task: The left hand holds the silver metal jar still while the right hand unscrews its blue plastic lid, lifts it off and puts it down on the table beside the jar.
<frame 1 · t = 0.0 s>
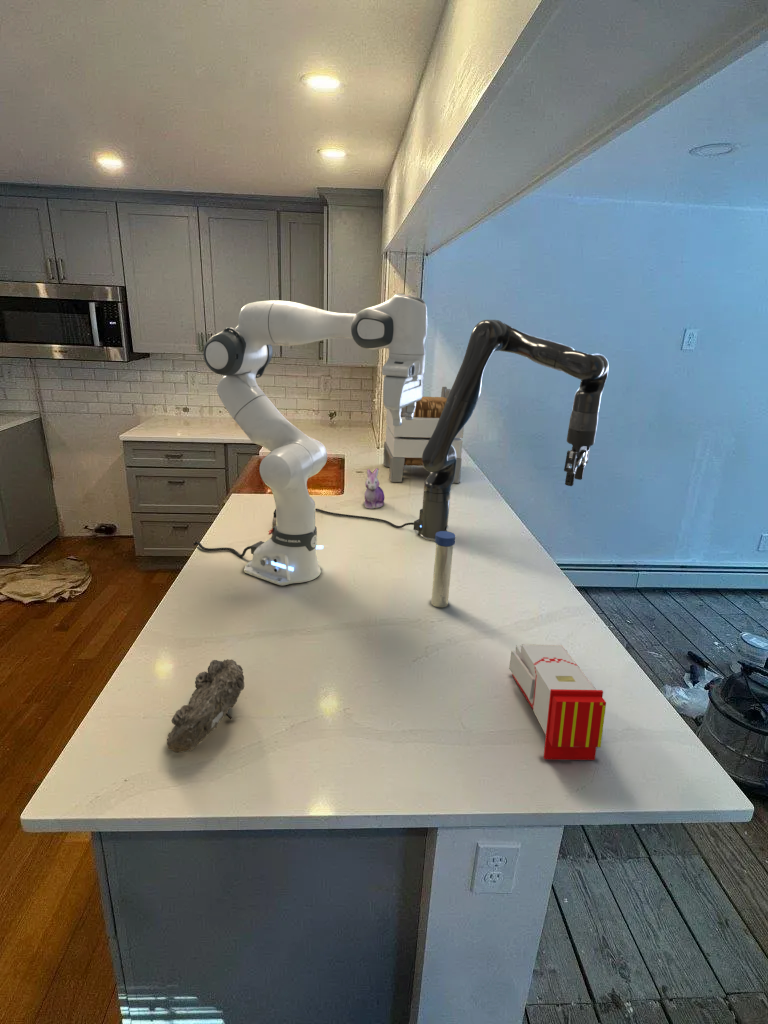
left hand: (403, 422, 142), 48 cm above the counter, tool pointing down, fingers open, 8 cm apart
right hand: (573, 482, 165), 29 cm above the counter, tool pointing down, fingers open, 8 cm apart
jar: (439, 603, 154), on the counter
figurine character: (284, 526, 202), on the counter
figurine: (373, 505, 227), on the counter
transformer: (419, 473, 275), on the counter
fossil: (212, 717, 108), on the counter
lid: (445, 535, 147), point 20 cm above the counter, screwed on, not yet turned
toy: (546, 710, 114), on the counter
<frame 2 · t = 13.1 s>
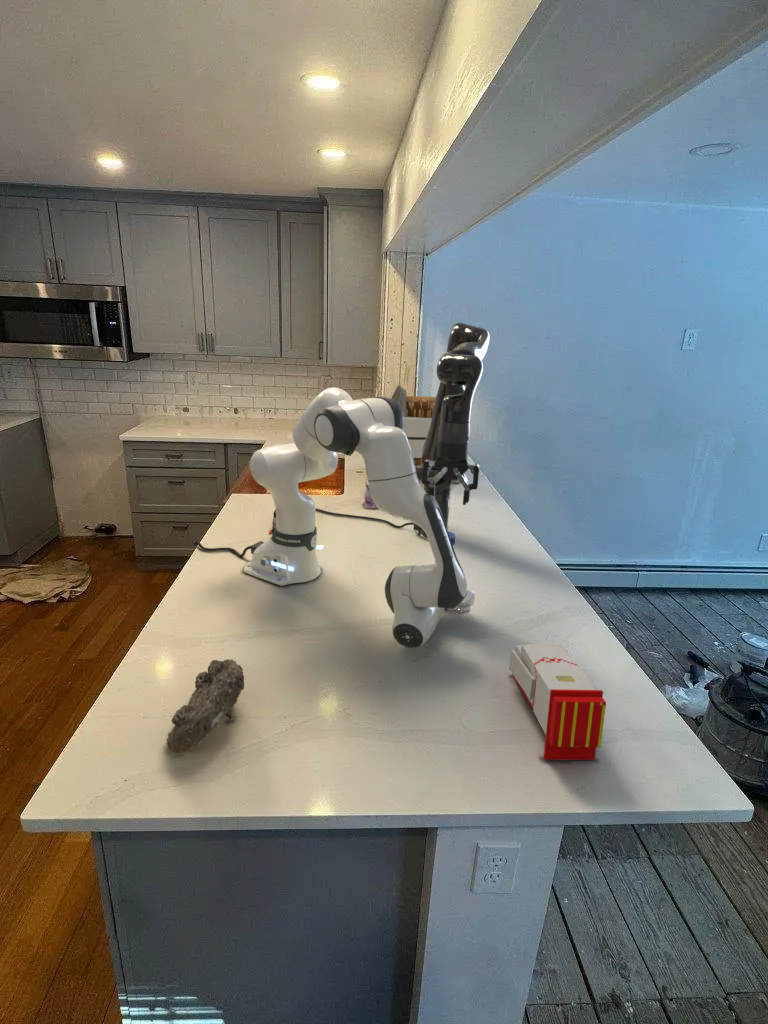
left hand: (442, 581, 152), 6 cm above the counter, tool horizontal, fingers closed on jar, 4 cm apart
right hand: (448, 502, 144), 29 cm above the counter, tool pointing down, fingers open, 7 cm apart
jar: (439, 603, 154), on the counter, touching left hand
everything else where it was.
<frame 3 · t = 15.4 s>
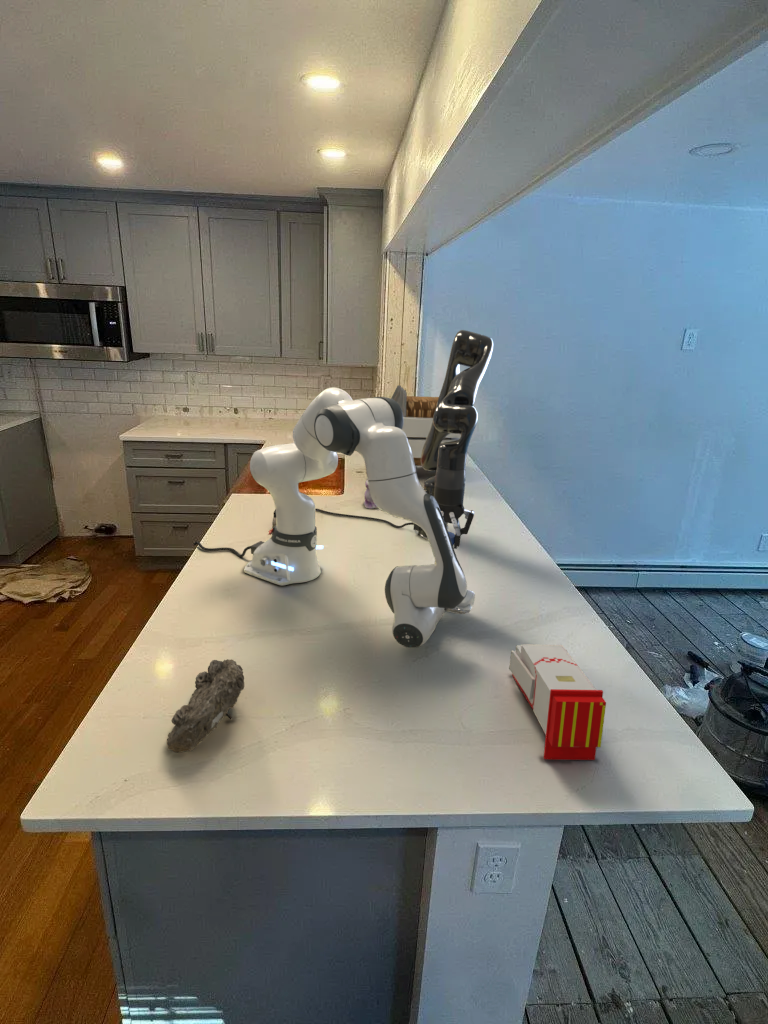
left hand: (442, 581, 152), 6 cm above the counter, tool horizontal, fingers closed on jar, 4 cm apart
right hand: (444, 545, 148), 17 cm above the counter, tool pointing down, fingers closed on lid, 5 cm apart
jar: (439, 603, 154), on the counter, touching left hand
lid: (445, 535, 147), point 20 cm above the counter, screwed on, not yet turned, touching right hand
everything else where it was.
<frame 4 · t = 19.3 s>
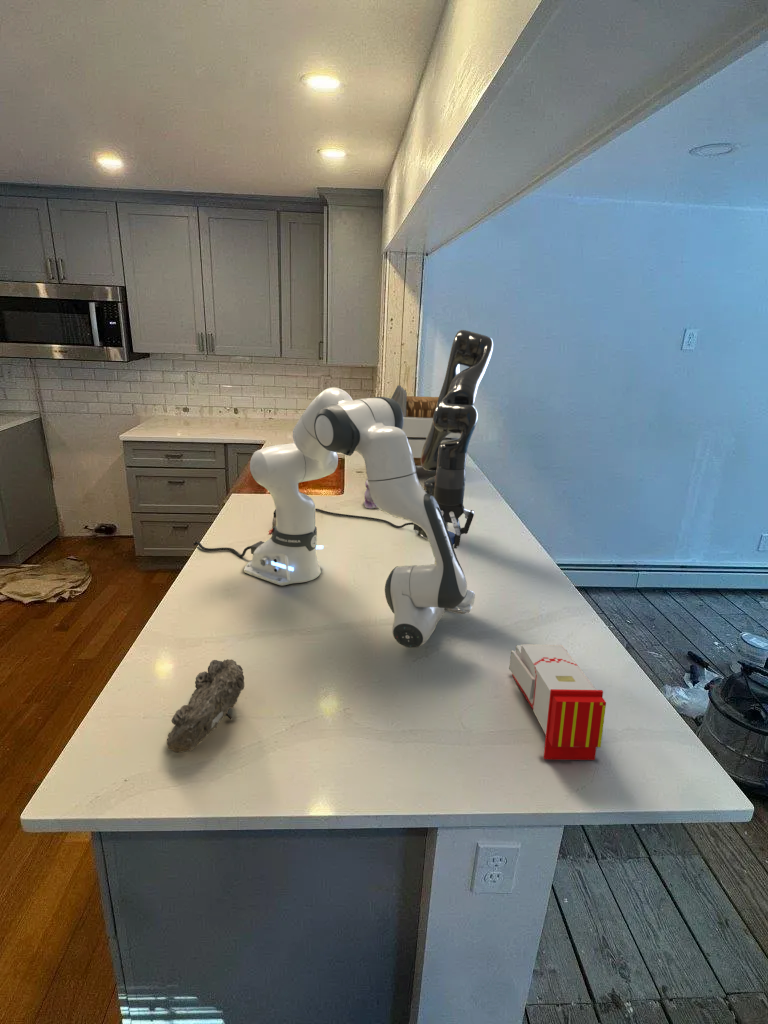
left hand: (442, 581, 153), 6 cm above the counter, tool horizontal, fingers closed on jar, 4 cm apart
right hand: (444, 545, 148), 17 cm above the counter, tool pointing down, fingers closed on lid, 5 cm apart
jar: (439, 603, 154), on the counter, touching left hand
lid: (445, 535, 147), point 20 cm above the counter, turned 101° so far, risen 0.1 cm, still on its thread, touching right hand
everything else where it was.
when the right hand's fingers open (1 cm above the counter, at t = 38.7 s): lid drops 2 cm, point 2 cm above the counter.
when the left hand's fingers open (6 cm above the counter, at t = 39.7 s): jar stays where it is, on the counter.
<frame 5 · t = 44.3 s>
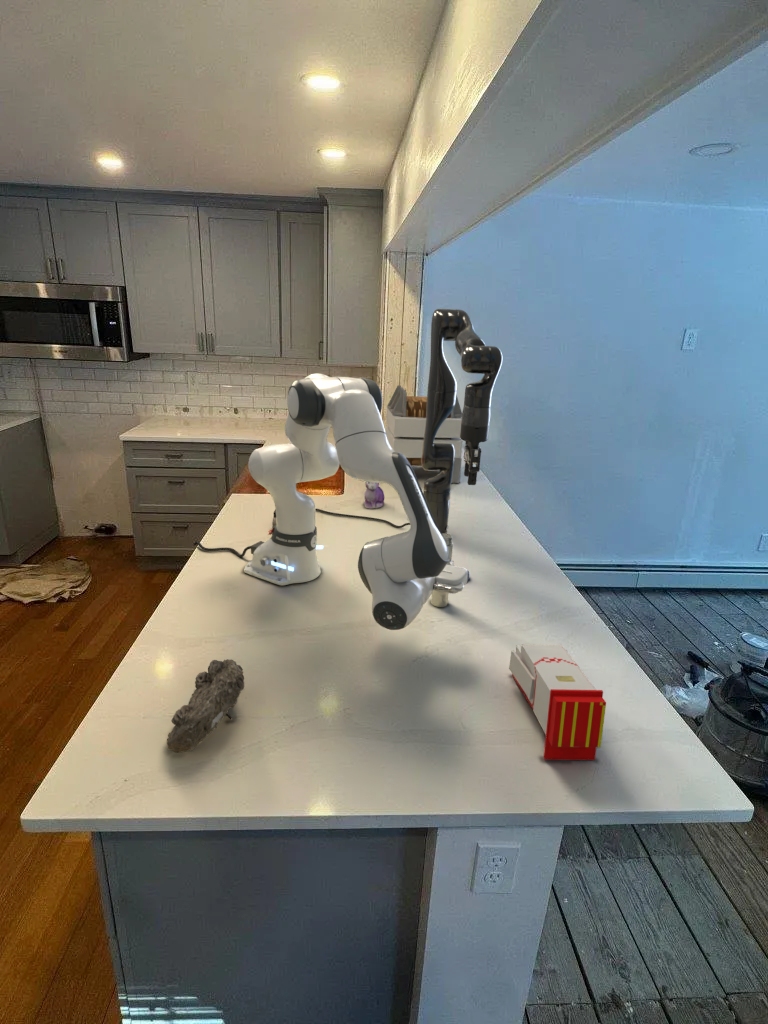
left hand: (431, 559, 136), 18 cm above the counter, tool horizontal, fingers open, 8 cm apart
right hand: (469, 480, 158), 30 cm above the counter, tool pointing down, fingers open, 8 cm apart
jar: (439, 603, 154), on the counter
lid: (460, 572, 168), point 2 cm above the counter, off its thread
everything else where it was.
at the end: lid came off its thread; lid point 1.8 cm above the counter; the left hand is holding nothing; the right hand is holding nothing; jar tilted 0°; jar moved 0.2 cm from its start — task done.
